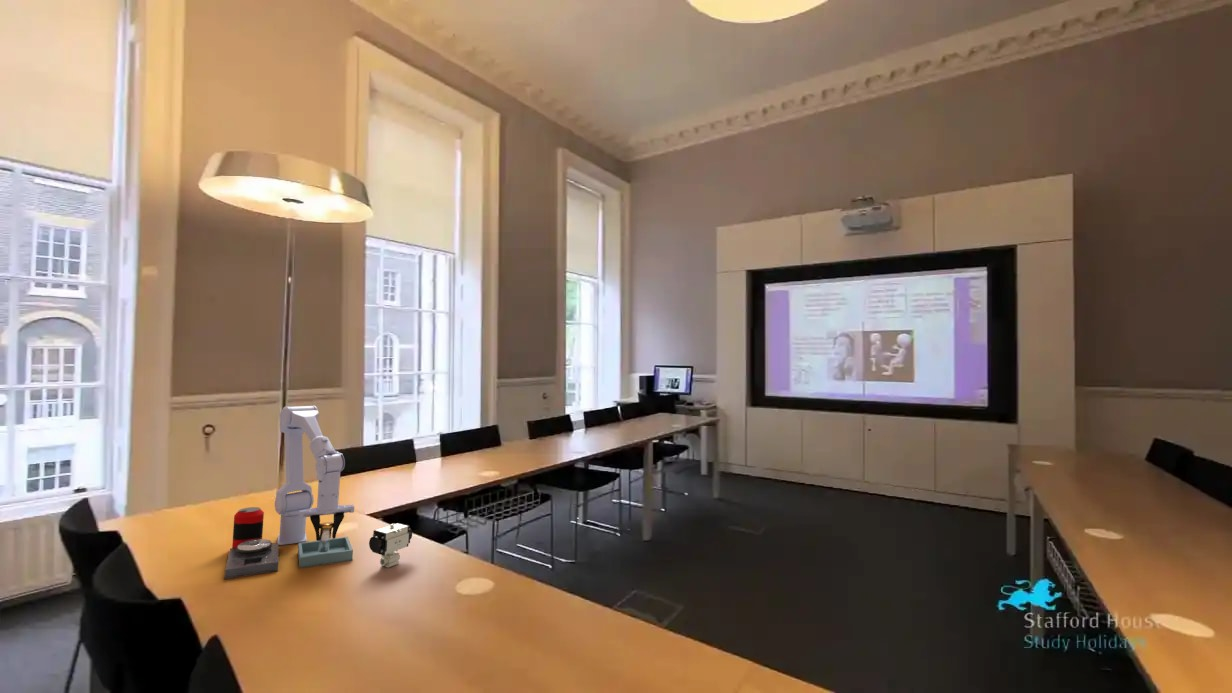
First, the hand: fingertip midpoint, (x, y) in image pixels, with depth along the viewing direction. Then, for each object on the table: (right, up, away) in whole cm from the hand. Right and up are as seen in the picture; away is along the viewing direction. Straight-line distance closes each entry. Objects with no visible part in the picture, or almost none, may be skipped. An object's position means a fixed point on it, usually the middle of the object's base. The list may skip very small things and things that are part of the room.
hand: (325, 538), depth 157 cm
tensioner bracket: (-17, -5, -8) cm, 19 cm away
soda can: (-27, -5, +4) cm, 27 cm away
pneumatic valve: (+22, -6, -5) cm, 23 cm away
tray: (0, -5, 0) cm, 5 cm away
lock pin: (-1, -4, 0) cm, 4 cm away
